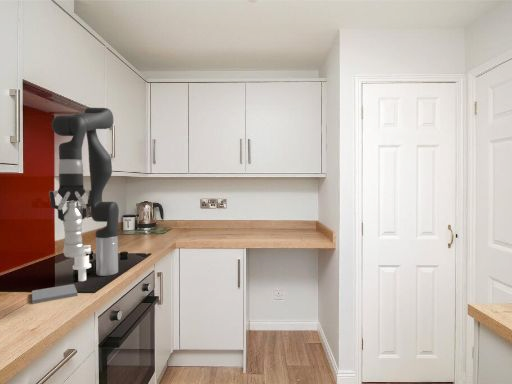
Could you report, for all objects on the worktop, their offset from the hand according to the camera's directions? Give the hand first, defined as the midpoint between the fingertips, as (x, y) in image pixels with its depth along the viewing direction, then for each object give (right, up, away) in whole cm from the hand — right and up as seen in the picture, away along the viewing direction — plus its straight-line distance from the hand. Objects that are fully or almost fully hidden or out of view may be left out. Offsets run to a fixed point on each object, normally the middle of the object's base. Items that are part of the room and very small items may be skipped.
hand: (72, 219), depth 117 cm
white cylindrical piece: (-10, -29, +24) cm, 39 cm away
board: (-11, -29, +7) cm, 32 cm away
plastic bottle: (0, -14, +1) cm, 14 cm away
